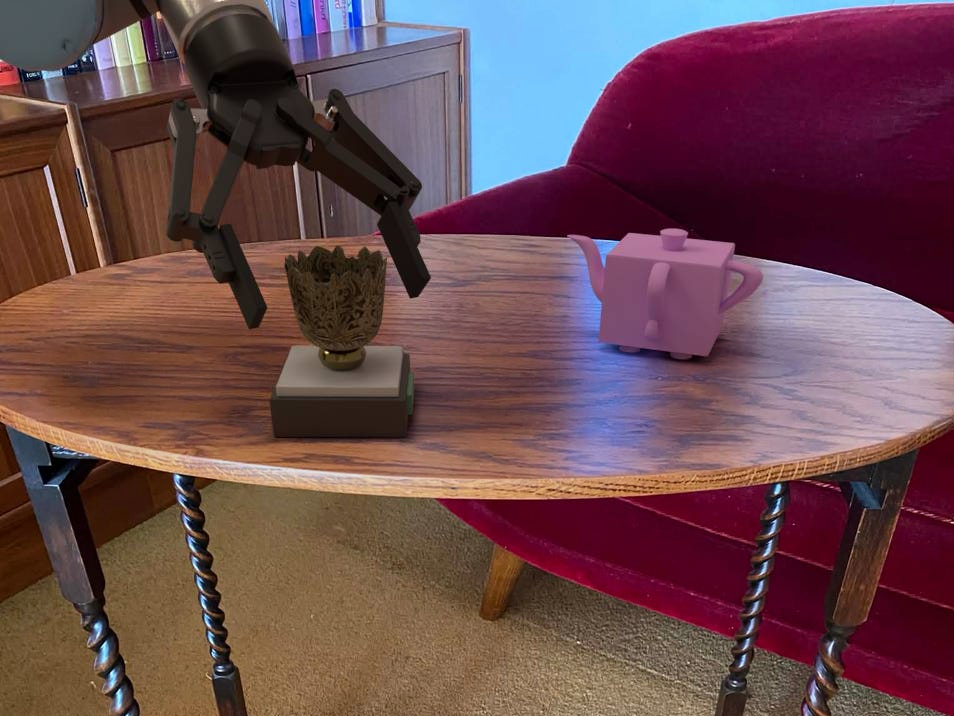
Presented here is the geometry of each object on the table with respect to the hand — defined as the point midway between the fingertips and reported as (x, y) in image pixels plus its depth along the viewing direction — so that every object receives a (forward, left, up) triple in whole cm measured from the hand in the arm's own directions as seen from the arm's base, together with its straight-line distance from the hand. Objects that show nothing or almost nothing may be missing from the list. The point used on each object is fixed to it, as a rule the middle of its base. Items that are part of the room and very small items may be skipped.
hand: (343, 303), depth 71 cm
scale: (-1, 0, -9) cm, 9 cm away
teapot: (+7, +32, -9) cm, 34 cm away
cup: (-1, 0, -5) cm, 5 cm away
